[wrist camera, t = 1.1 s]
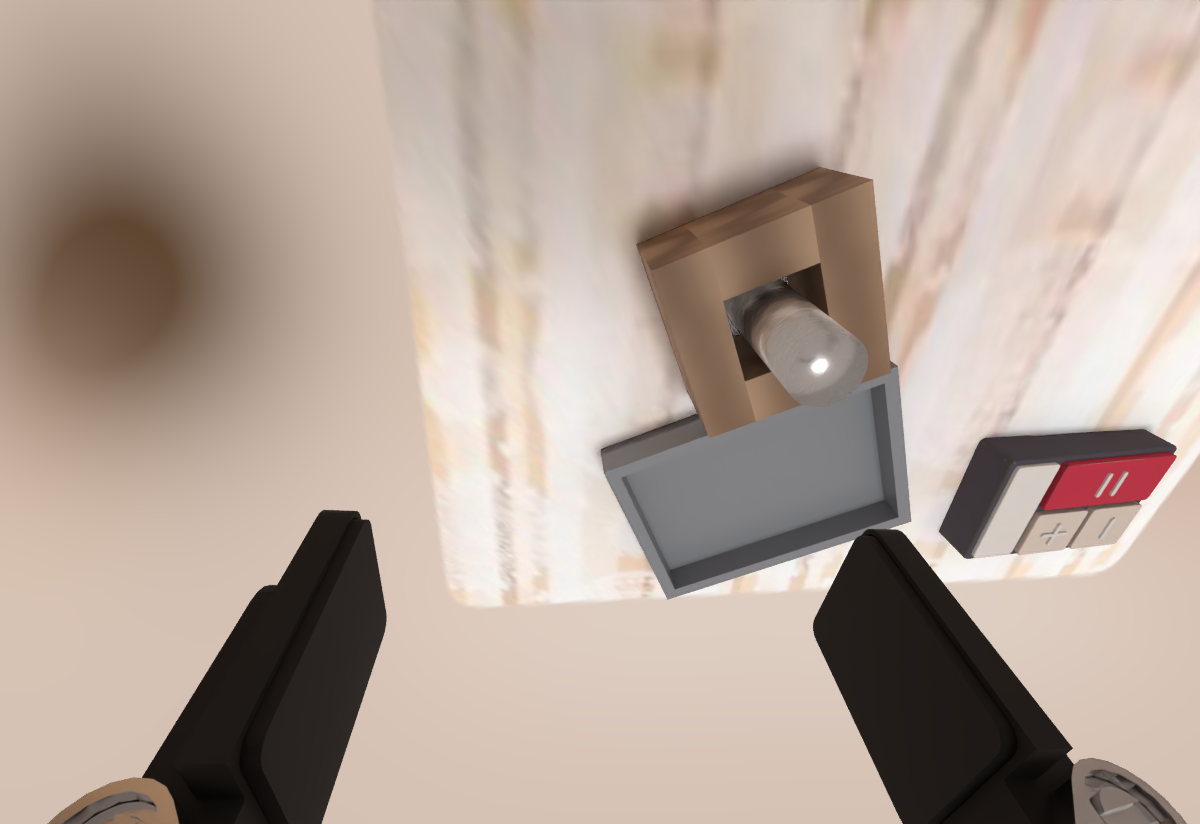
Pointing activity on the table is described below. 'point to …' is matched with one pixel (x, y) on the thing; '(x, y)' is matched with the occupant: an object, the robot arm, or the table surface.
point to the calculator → (1053, 491)
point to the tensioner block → (754, 258)
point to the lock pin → (799, 343)
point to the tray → (763, 486)
